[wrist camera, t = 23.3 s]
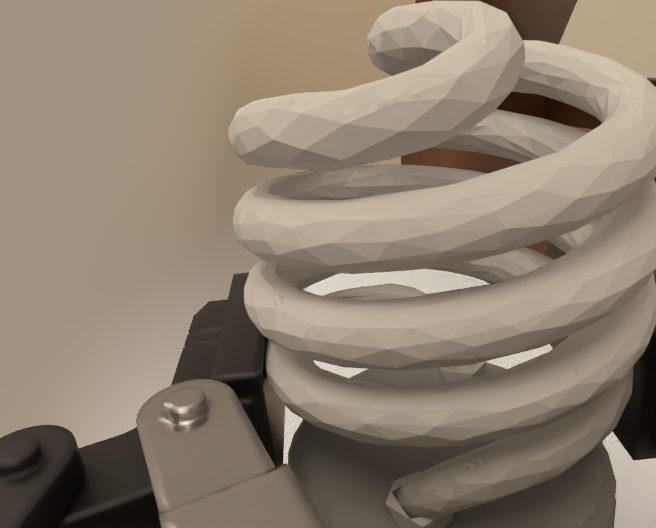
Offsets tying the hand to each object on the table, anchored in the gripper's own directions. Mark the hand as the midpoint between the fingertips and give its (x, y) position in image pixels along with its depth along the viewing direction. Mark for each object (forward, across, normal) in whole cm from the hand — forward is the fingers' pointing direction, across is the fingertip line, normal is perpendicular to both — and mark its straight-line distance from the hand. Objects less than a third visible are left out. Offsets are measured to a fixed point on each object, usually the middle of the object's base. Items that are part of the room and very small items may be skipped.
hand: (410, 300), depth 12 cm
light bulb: (-3, 0, +7) cm, 7 cm away
